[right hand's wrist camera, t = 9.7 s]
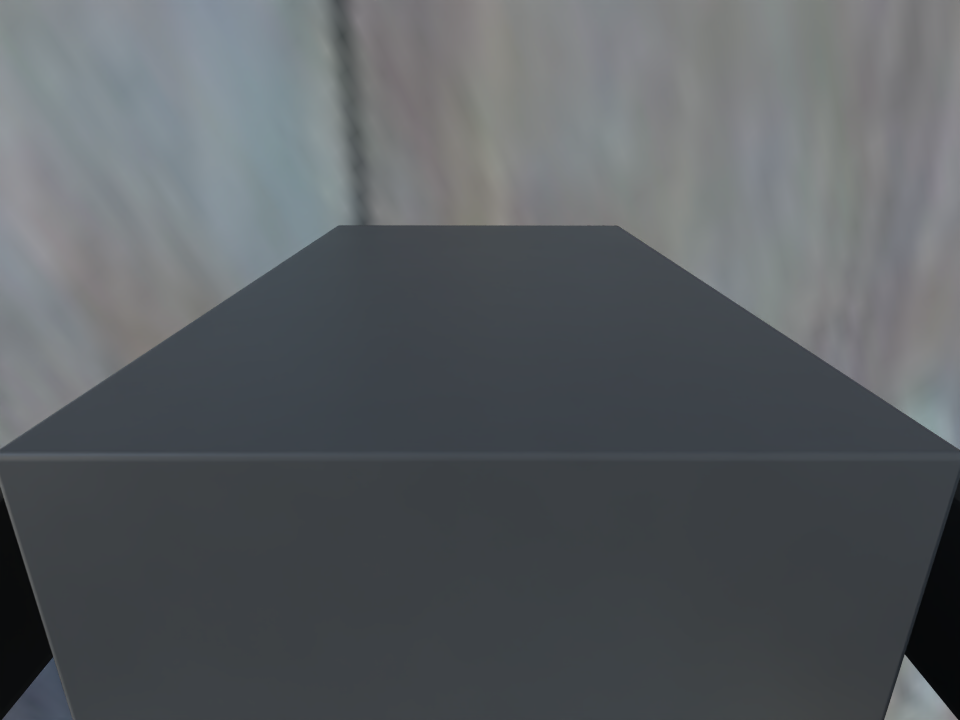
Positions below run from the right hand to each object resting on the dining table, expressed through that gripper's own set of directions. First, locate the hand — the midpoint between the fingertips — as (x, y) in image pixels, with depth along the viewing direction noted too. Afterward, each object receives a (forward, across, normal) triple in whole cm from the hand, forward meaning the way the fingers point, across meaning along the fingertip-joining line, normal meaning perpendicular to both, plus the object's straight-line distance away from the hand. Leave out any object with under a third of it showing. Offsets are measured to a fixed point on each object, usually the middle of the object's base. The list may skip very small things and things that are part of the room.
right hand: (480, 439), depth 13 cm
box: (+3, 0, -9) cm, 9 cm away
